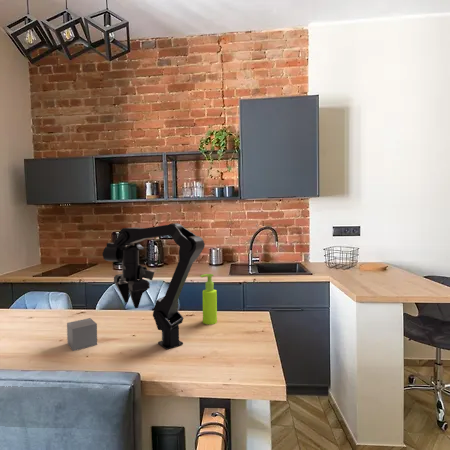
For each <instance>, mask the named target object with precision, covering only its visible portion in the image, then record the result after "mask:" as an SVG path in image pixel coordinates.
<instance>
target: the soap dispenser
mask: <svg viewBox="0 0 450 450" xmlns="http://www.w3.org/2000/svg"><path fill="white" fill-rule="evenodd" d="M199 277H200V278H205V277H207V281H206V282H205V289H203V290H202V323H203V324H204V325H215V324H217V322H218V304H217V303H218V296H217V295H218V292H217V289H214V286H215V285H214V281H213V280H212V279H213V278H212V277H214V274H213V273H204V274H201V275H199Z"/></svg>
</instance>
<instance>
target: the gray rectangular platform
mask: <svg viewBox="0 0 450 450" xmlns="http://www.w3.org/2000/svg"><path fill="white" fill-rule="evenodd" d="M66 336H67V337H66V338H67V339H66V340H67V345H68V347H70V349H71V351H72V352H73V351H77V350H78V351H79V350H82V349H86V348H89V347H93V346H97V345H98V323H96V321H94V320H93V319H92V318H91V317H89V318H84V319H79V320H74V321H68V322H67V323H66Z"/></svg>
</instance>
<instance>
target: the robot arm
mask: <svg viewBox="0 0 450 450" xmlns="http://www.w3.org/2000/svg"><path fill="white" fill-rule="evenodd" d="M166 236H167V237H168V236H170V237H171V238H172V240H173V241H174V243H175V244H176V245H177V246H178V247H179V248H178V257H179V260H178V262H177V265H176V267H175V269H174V272H173V275H172V277H171V279H170V282H169V284H168V287H167V290H166V291H165V294H164V296H162V297H159V298H158V299H156V301H155V304H154V307H153V308H152V317H153V320H154V321H155V325H156V328H157V330H159V331H161V340H160V341H158V342H157V345H160V346H161V347H162V348H164V349H165V350H169V349H170V350H171V349H173V348H176V347H179V346H182V345H183V344H184V342H183V341H181V340H180V326H179V325H181V324H183V322H184V317H183V315H182V314H181V313H180V311H178V310H179V298H180V295H181V293H182V290H183V288H184V285H185V283H186V280H187V278H188V275H189V274H190V270H191V269H192V266H193V264H194V262H195V261H196V260H197V259H198V258H199V256H200V255H201V254H202V252H203V251H204V248H205V246H206V245H205V244H206V243H205V241H204V239H203V238H202V236H199V235H196V234H195V233H193V232H192V231H191V230H189V229H187V228H185V226H183V225H182V224H180V223H178V222H175V223H169V224H165V225H158V226H151V227H137V226H136V227H123V228H121V229H120V231H119V233H118V235H117V237H116V238H115V241H114V242H106V246H105V247H104V249H103V251H102V258H103V259H104V261H106V262H122V264H120V269H121V270H122V273H120V274H119V273H118V274H115V275H114V277H113V283H115V286H116V287H117V291H119V293H120V295H121V297H122V300H123V302H124V303H128V302H129V298H130V299H131V301H132V304H133V308H134V309H137V308H139V306H140V304H141V300H142V296H143V294H144V293H145V292H147V291H148V289H150V287H151V286H150V285H151V284H150V282H149V281H153V279H154V276H155V271H152V270H148V268H147V266H143V265H141V264H140V258H139V257H140V251H141V250H142V251H143V250H145V247H144V246H142V245H141V243H140V242H143V241H145V240H147V239H151V238H160V237H166ZM146 279H147V280H146ZM148 280H149V281H148Z"/></svg>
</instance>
